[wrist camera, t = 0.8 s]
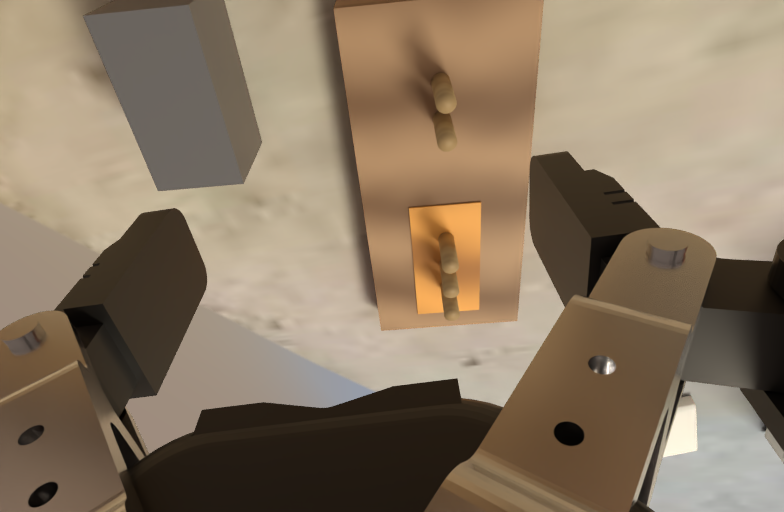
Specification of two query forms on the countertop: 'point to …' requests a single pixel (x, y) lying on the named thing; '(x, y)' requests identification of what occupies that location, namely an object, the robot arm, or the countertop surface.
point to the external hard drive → (683, 429)
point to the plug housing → (180, 88)
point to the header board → (442, 151)
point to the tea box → (774, 444)
